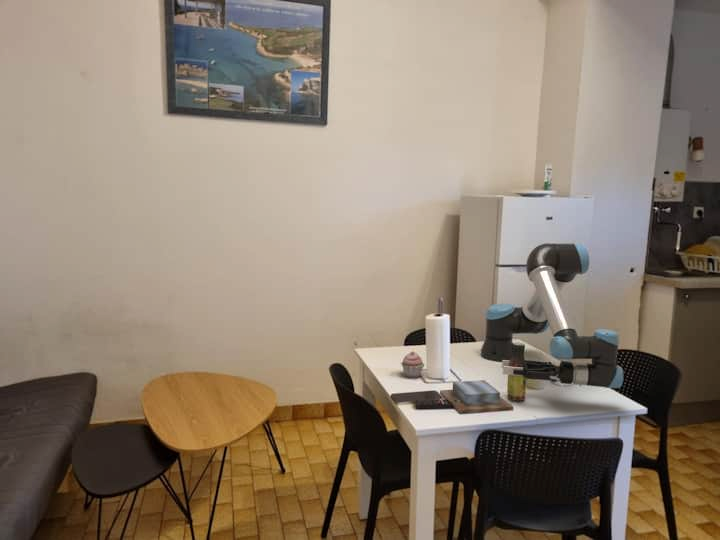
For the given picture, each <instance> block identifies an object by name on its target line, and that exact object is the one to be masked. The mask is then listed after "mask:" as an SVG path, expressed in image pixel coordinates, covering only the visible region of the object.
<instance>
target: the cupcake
mask: <svg viewBox="0 0 720 540" xmlns="http://www.w3.org/2000/svg"><path fill="white" fill-rule="evenodd" d="M402 359H403V360H402V362H400V364H401V367H402V370H403V376H405V377H406V376H407V377H406V378H409V379H411V378H412V379H416V378H419V376H421V375H422V372H423V369H424V367H425V364H424V362H423V359H422V358H421V356H420V354H419V353H418V352H415V351H414V350H412V351H410V352H409V353H408V354H405V355H404V358H402Z"/></svg>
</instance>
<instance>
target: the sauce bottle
mask: <svg viewBox="0 0 720 540" xmlns="http://www.w3.org/2000/svg"><path fill="white" fill-rule="evenodd" d="M525 348H526V343H524V342H518V341H517V342H513V357H512V358H511V359H510V361H509V366H510V367H521V368H524V367H526V369H527V364H526V361H525V360H526V359H525ZM506 391H507V392H506V393H507V398H508V399H509V400H511V401H515V402H520V401H524V400H525V399H526V394H527V393H526V392H527V379H526V378H525V377H524V376H518V375H507V390H506Z"/></svg>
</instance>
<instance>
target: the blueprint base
mask: <svg viewBox="0 0 720 540" xmlns="http://www.w3.org/2000/svg"><path fill="white" fill-rule="evenodd" d="M439 394H440V396H442V397H443V398H444V399H445V400H446V399H447V400H449V401H451V402H452V404H453V406H454V407H453V406H452V407H453V408H454V410H455V411H456V412H457V413H458V414H459V415H464V414H465V415H466V414H479V413H493V412H502V411H503V412H504V411H507V412H508V411H513V410H514V405H512V404H511V403H509V402H508V401H507V400H506V399H505V398H503V397H502V396H501V392H500V391H499V390H497V388H495V387H494V386H493V385H492V384H490V383H488V382H487V381H486V380H484V379H482V380H468V381H467V380H466V381H465V380H464V381H452V389H442V390H439ZM447 400H446V401H447ZM454 400H461V401H462V403H461V402H460V403H458V402H454Z"/></svg>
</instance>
